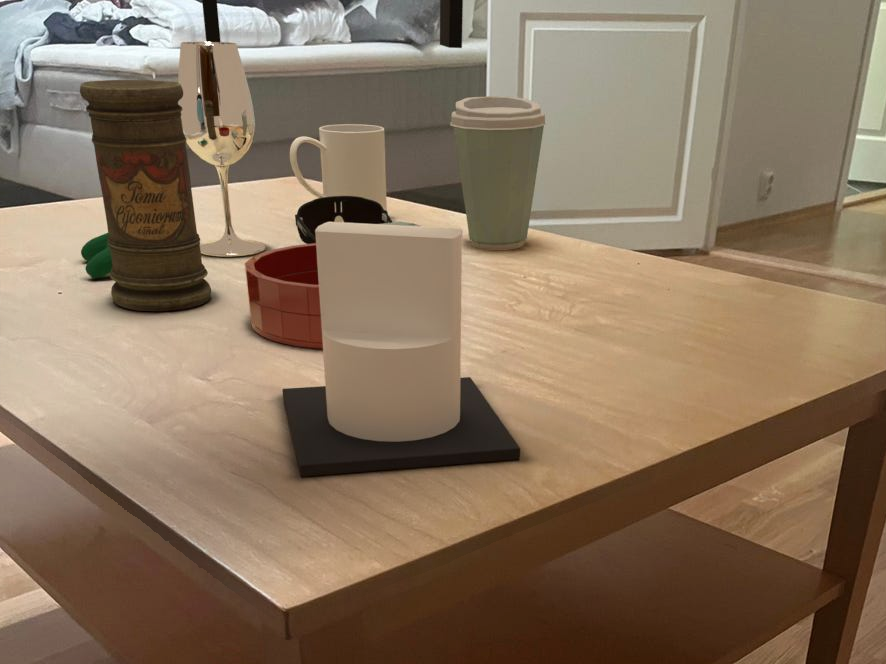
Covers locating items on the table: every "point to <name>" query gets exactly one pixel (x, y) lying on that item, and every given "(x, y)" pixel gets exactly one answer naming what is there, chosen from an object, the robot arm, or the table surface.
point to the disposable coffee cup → (498, 166)
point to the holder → (341, 453)
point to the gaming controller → (97, 256)
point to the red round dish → (286, 295)
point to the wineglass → (217, 123)
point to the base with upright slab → (390, 328)
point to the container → (146, 194)
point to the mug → (348, 162)
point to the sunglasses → (337, 214)
